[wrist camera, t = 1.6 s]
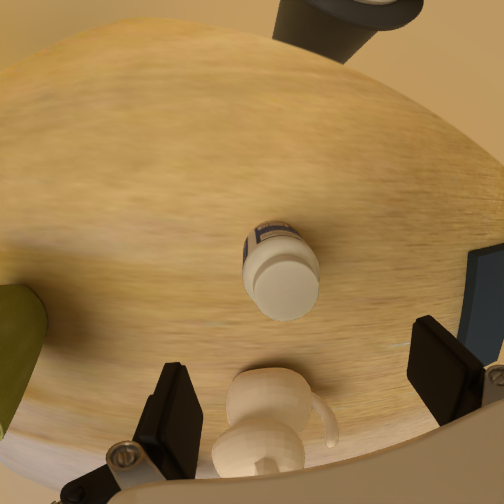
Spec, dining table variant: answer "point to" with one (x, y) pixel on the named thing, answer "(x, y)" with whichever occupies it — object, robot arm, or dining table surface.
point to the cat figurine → (268, 423)
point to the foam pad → (484, 304)
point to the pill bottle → (280, 271)
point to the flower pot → (18, 346)
